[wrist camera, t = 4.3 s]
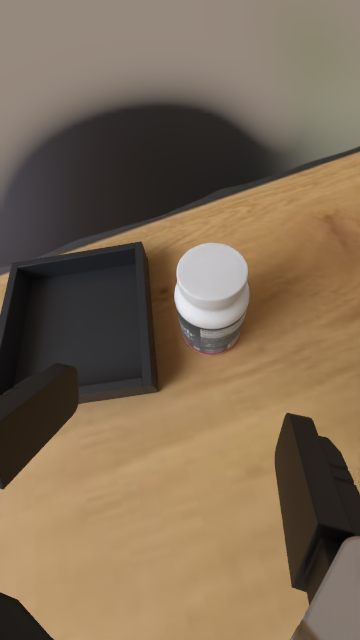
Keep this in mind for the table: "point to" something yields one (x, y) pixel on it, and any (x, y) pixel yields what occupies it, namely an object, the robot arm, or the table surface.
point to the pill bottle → (211, 297)
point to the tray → (81, 321)
